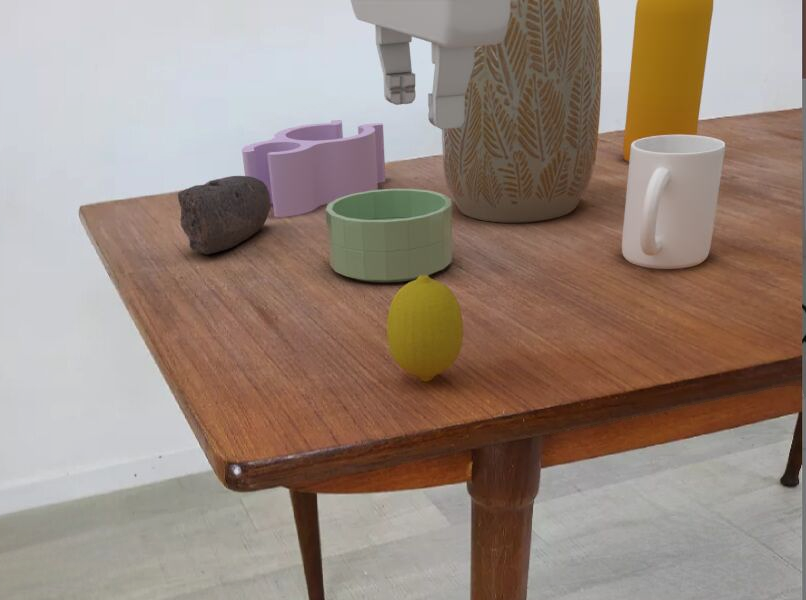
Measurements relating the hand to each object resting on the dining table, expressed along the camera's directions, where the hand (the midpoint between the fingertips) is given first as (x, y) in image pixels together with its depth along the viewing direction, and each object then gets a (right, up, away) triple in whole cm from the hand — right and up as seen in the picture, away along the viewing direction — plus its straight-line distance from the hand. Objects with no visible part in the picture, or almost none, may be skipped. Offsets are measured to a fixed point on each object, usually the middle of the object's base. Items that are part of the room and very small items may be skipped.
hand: (421, 114), depth 60 cm
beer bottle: (+34, +25, +65) cm, 78 cm away
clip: (-11, +18, +59) cm, 62 cm away
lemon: (+1, -15, +11) cm, 19 cm away
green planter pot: (-2, +1, +34) cm, 34 cm away
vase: (+13, +12, +49) cm, 52 cm away
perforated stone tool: (-19, +6, +43) cm, 48 cm away
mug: (+24, 0, +30) cm, 39 cm away
